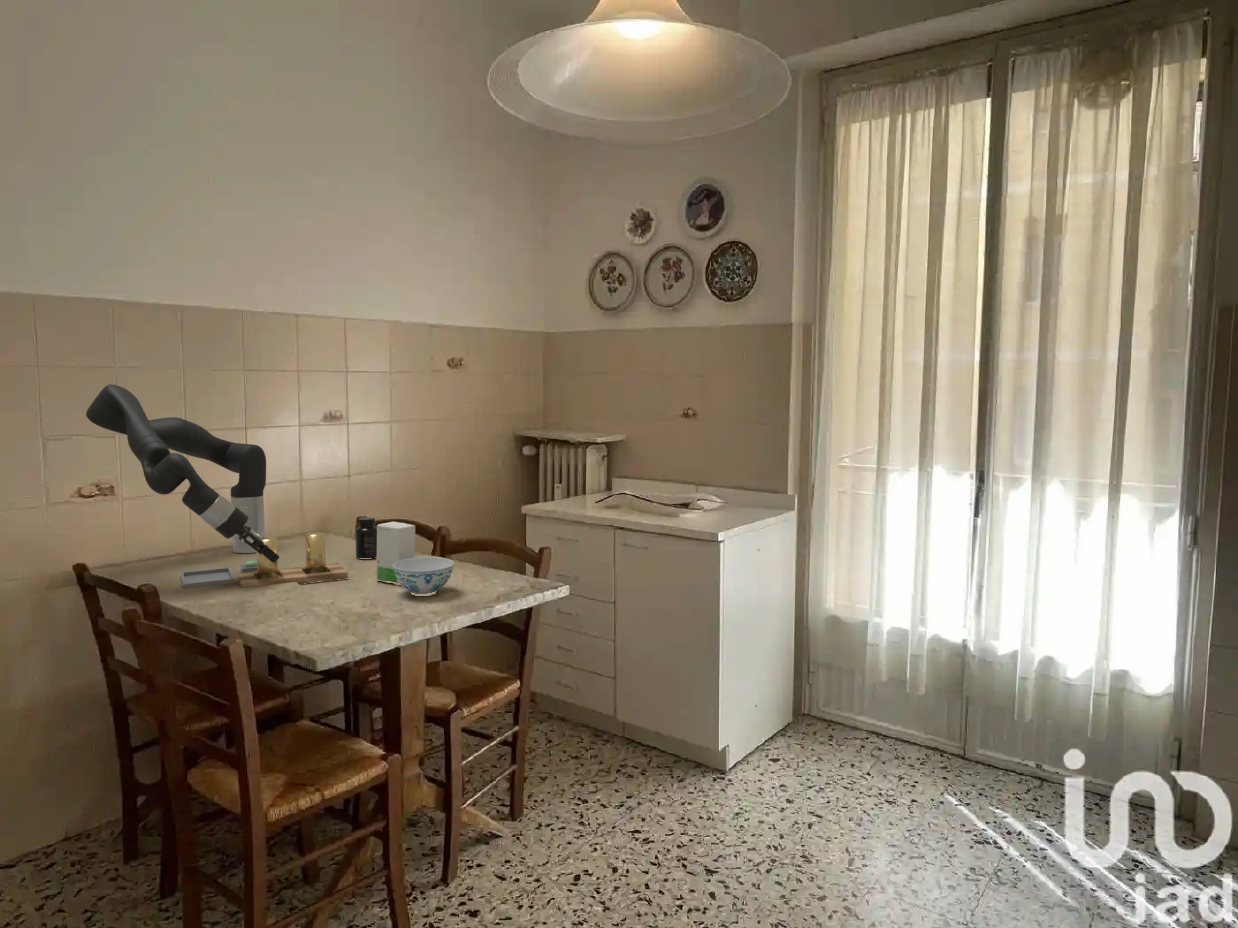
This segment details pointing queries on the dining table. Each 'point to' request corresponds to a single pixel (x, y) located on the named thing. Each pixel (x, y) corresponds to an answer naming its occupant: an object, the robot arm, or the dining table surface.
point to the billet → (267, 560)
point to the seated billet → (315, 552)
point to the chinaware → (423, 573)
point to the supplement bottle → (366, 538)
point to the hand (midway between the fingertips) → (275, 557)
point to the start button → (251, 563)
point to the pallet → (294, 576)
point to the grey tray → (207, 577)
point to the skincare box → (393, 548)
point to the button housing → (247, 569)
